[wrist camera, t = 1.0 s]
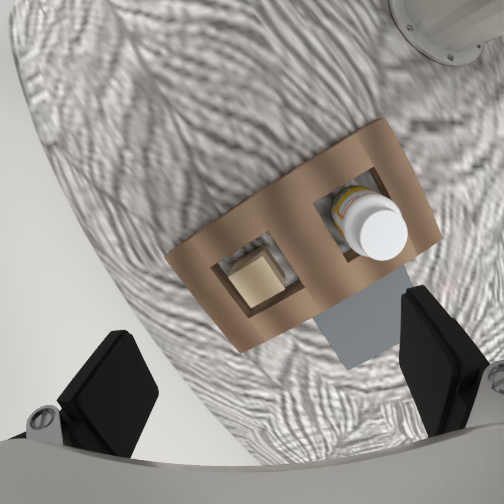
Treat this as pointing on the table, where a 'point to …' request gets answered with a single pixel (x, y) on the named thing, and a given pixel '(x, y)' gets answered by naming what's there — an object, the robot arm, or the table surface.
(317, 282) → the puzzle board
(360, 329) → the rubber mat
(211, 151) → the table surface
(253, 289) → the maple block
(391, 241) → the supplement bottle
